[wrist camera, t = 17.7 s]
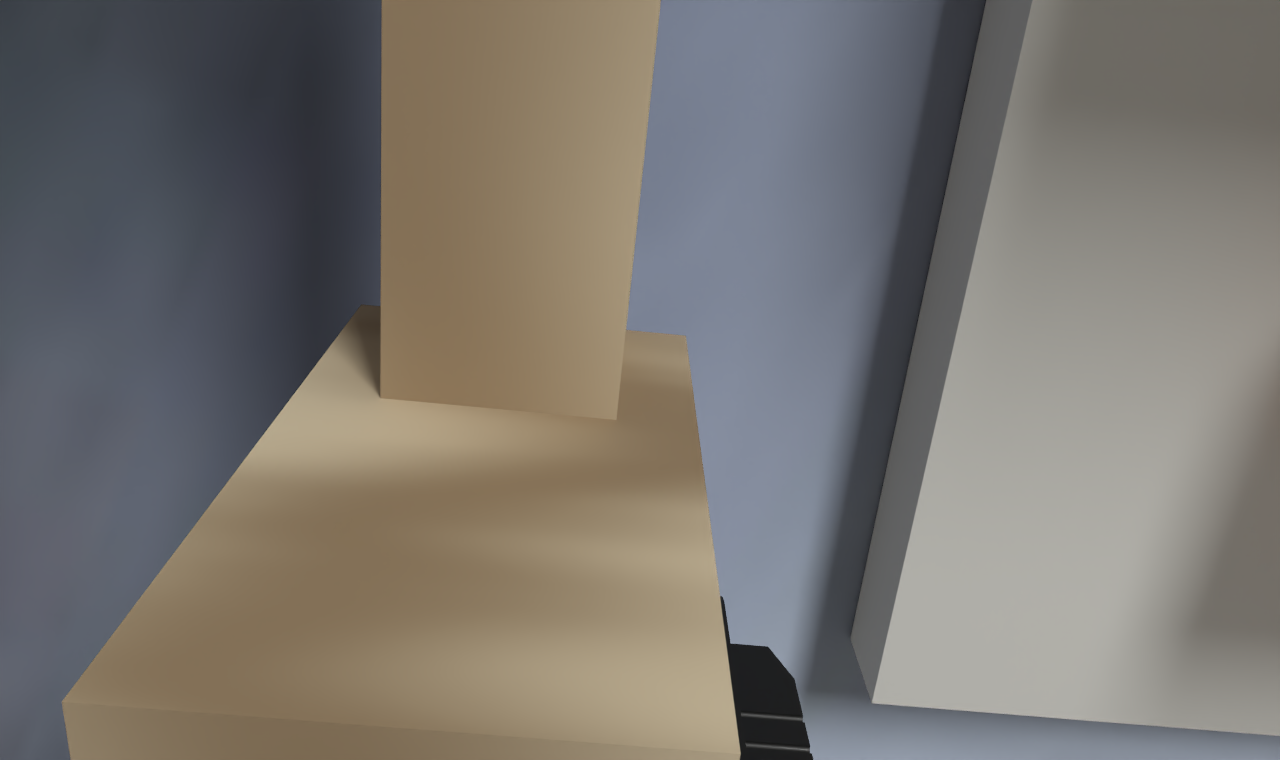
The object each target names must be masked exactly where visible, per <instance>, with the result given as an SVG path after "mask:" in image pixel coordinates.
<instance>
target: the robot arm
mask: <svg viewBox="0 0 1280 760" xmlns="http://www.w3.org/2000/svg"><path fill="white" fill-rule="evenodd" d="M720 600H721V608H722V616H723V623H724V631H725V638H726V646H727V654H728V661H729V669H730V676H731V684H732V692H733V699H734V707H735V714H736V722H737V730H738V737H739V745H740V752H741V755H740V760H813V757H812V754H811V753H810V744H809V740H808V735H807V731H806V727H805V723H803V721H802V718H803V714H802V710H801V705H800V701H799V697H798V693H797V688H796V684H795V680H794V678H793V677H792V676H791V674H790V673H789V672H788V671H787V670H786V668H785V667H784V666H783V665H782V663H781V662H780V661H779V660H778V658H777V657H776V656H775V655H774V654H773V652H772V651H771V650H770V649H769V647H765V646H753V645H741V644H730V637H729V631H728V624H727V617H726V611H725V604H724V600H723V597H722V596H720Z"/></svg>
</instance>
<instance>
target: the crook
mask: <svg viewBox="0 0 1280 760" xmlns="http://www.w3.org/2000/svg"><path fill="white" fill-rule="evenodd" d="M660 2H661V0H382V67H381V306H371V305H361V306H360V307H359V308H358V310H357V311H356V312H355V314H354V315H353V316H352V318H351V319H350V320H349V322H348V323H347V324H346V326H345V327H344V328H343V330H342V331H341V332H340V334H339V335H338V336H337V338H336V339H335V340H334V342H333V343H332V344H331V346H330V347H329V348H328V350H327V351H326V352H325V354H324V355H323V356H322V358H321V359H320V360H319V361H318V363H317V364H316V365H315V367H314V368H313V369H312V371H311V372H310V373H309V375H308V376H307V377H306V379H305V380H304V381H303V383H302V384H301V385H300V387H299V388H298V389H297V391H296V392H295V393H294V395H293V396H292V397H291V399H290V400H289V401H288V403H287V404H286V405H285V407H284V408H283V409H282V411H281V412H280V413H279V415H278V416H277V417H276V419H275V420H274V421H273V422H272V424H271V425H270V426H269V428H268V429H267V430H266V432H265V433H264V434H263V436H262V437H261V438H260V440H259V441H258V442H257V444H256V445H255V446H254V448H253V449H252V450H251V452H250V453H249V454H248V456H247V457H246V458H245V460H244V461H243V462H242V464H241V465H240V466H239V468H238V469H237V470H236V472H235V473H234V474H233V476H232V477H231V478H230V480H229V481H228V482H227V483H226V485H225V486H224V487H223V489H222V490H221V491H220V493H219V494H218V495H217V497H216V498H215V499H214V501H213V502H212V503H211V505H210V506H209V507H208V509H207V510H206V511H205V513H204V514H203V515H202V517H201V518H200V519H199V521H198V522H197V523H196V525H195V526H194V527H193V529H192V530H191V531H190V533H189V534H188V535H187V537H186V538H185V539H184V541H183V542H182V543H181V544H180V546H179V547H178V548H177V550H176V551H175V552H174V554H173V555H172V556H171V558H170V559H169V560H168V562H167V563H166V564H165V566H164V567H163V568H162V570H161V571H160V572H159V574H158V575H157V576H156V578H155V579H154V580H153V582H152V583H151V584H150V586H149V587H148V588H147V590H146V591H145V592H144V594H143V595H142V596H141V598H140V599H139V600H138V602H137V603H136V604H135V606H134V607H133V608H132V609H131V611H130V612H129V613H128V615H127V616H126V617H125V619H124V620H123V621H122V623H121V624H120V625H119V627H118V628H117V629H116V631H115V632H114V633H113V635H112V636H111V637H110V639H109V640H108V641H107V643H106V644H105V645H104V647H103V648H102V649H101V651H100V652H99V653H98V655H97V656H96V657H95V659H94V660H93V661H92V663H91V664H90V665H89V667H88V668H87V669H86V670H85V672H84V673H83V674H82V676H81V677H80V678H79V680H78V681H77V682H76V684H75V685H74V686H73V688H72V689H71V690H70V692H69V693H68V694H67V696H66V697H65V698H64V700H63V701H62V706H63V713H64V719H65V726H66V732H67V739H68V745H69V752H70V758H71V760H740V755H741V752H740V745H739V737H738V730H737V722H736V714H735V707H734V699H733V692H732V684H731V676H730V669H729V661H728V654H727V646H726V638H725V631H724V623H723V616H722V608H721V600H720V593H719V585H718V578H717V570H716V562H715V555H714V547H713V540H712V532H711V524H710V517H709V509H708V502H707V494H706V486H705V479H704V471H703V464H702V456H701V448H700V441H699V433H698V426H697V418H696V410H695V403H694V395H693V388H692V380H691V372H690V365H689V357H688V350H687V342H686V336H683V335H672V334H662V333H651V332H641V331H631V330H626V324H627V314H628V305H629V296H630V286H631V277H632V267H633V258H634V248H635V239H636V229H637V220H638V210H639V201H640V191H641V182H642V173H643V163H644V154H645V144H646V135H647V125H648V116H649V106H650V97H651V87H652V78H653V69H654V59H655V50H656V40H657V31H658V21H659V12H660Z"/></svg>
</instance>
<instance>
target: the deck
mask: <svg viewBox="0 0 1280 760" xmlns="http://www.w3.org/2000/svg"><path fill="white" fill-rule="evenodd" d="M850 639H851V642H852V645H853V648H854V651H855V654H856V657H857V660H858V663H859V666H860V669H861V672H862V675H863V678H864V681H865V685H866V688H867V691H868V694H869V697H870V700H871V703H874V704H886V705H899V706H911V707H924V708H936V709H949V710H961V711H974V712H986V713H998V714H1011V715H1023V716H1036V717H1048V718H1061V719H1073V720H1086V721H1098V722H1111V723H1123V724H1136V725H1148V726H1161V727H1173V728H1186V729H1198V730H1211V731H1223V732H1235V733H1248V734H1260V735H1273V736H1280V0H986V4H985V9H984V14H983V18H982V23H981V28H980V32H979V37H978V42H977V46H976V51H975V56H974V61H973V65H972V70H971V75H970V79H969V84H968V89H967V93H966V98H965V103H964V107H963V112H962V117H961V122H960V126H959V131H958V136H957V140H956V145H955V150H954V154H953V159H952V164H951V168H950V173H949V178H948V183H947V187H946V192H945V197H944V201H943V206H942V211H941V215H940V220H939V225H938V229H937V234H936V239H935V244H934V248H933V253H932V258H931V262H930V267H929V272H928V276H927V281H926V286H925V290H924V295H923V300H922V305H921V309H920V314H919V319H918V323H917V328H916V333H915V337H914V342H913V347H912V351H911V356H910V361H909V365H908V370H907V375H906V380H905V384H904V389H903V394H902V398H901V403H900V408H899V412H898V417H897V422H896V426H895V431H894V436H893V441H892V445H891V450H890V455H889V459H888V464H887V469H886V473H885V478H884V483H883V487H882V492H881V497H880V502H879V506H878V511H877V516H876V520H875V525H874V530H873V534H872V539H871V544H870V548H869V553H868V558H867V563H866V567H865V572H864V577H863V581H862V586H861V591H860V595H859V600H858V605H857V609H856V614H855V619H854V624H853V628H852V633H851V638H850Z"/></svg>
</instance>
